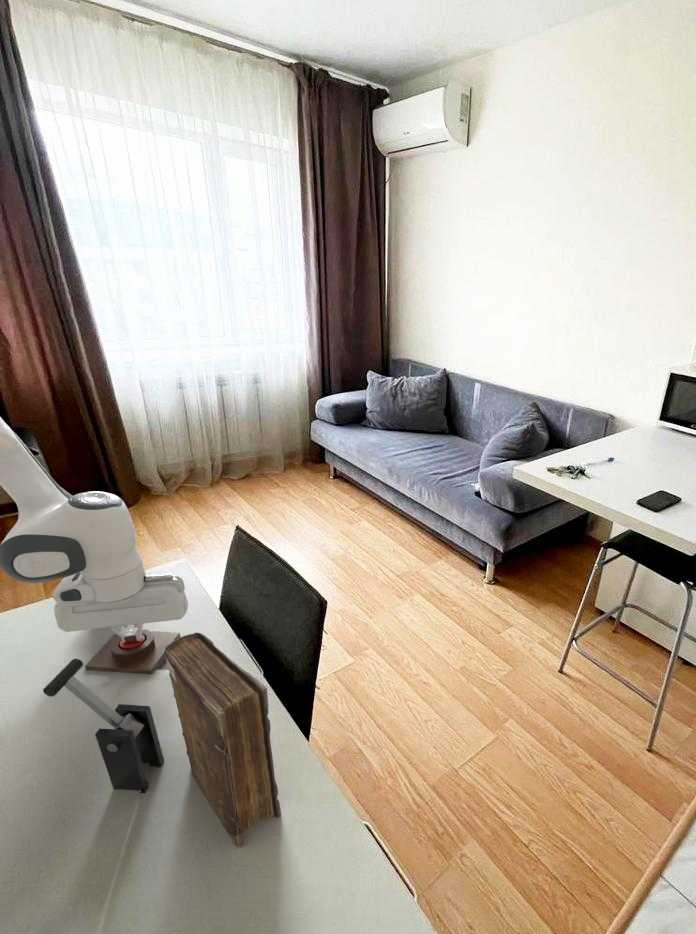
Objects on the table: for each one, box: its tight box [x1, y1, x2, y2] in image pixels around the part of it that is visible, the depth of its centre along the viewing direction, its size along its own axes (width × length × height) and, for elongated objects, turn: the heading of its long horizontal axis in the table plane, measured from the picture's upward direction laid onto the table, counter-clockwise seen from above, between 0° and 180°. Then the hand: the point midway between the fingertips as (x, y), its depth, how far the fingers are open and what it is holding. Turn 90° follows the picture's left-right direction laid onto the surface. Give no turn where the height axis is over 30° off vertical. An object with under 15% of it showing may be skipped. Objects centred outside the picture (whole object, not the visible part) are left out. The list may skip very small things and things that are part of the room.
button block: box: [84, 628, 182, 675], centre depth 93 cm, size 12×10×4 cm
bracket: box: [94, 703, 165, 794], centre depth 70 cm, size 12×9×13 cm
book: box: [164, 632, 282, 849], centre depth 66 cm, size 17×7×25 cm, turn 45°
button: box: [120, 635, 145, 650], centre depth 93 cm, size 4×4×2 cm
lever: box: [42, 658, 144, 738], centre depth 66 cm, size 13×5×2 cm
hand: (133, 639), depth 92 cm, fingers closed, pressing on button
